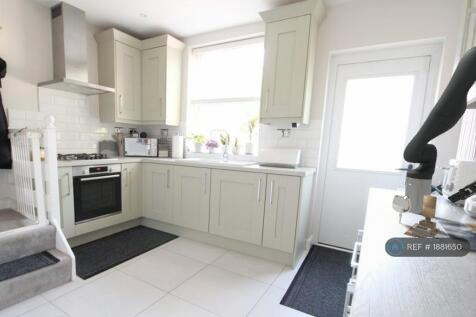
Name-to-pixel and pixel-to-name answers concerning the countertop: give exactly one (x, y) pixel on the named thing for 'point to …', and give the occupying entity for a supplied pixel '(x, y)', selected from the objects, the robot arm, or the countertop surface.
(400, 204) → the wineglass
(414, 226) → the plank
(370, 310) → the countertop surface
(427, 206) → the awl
